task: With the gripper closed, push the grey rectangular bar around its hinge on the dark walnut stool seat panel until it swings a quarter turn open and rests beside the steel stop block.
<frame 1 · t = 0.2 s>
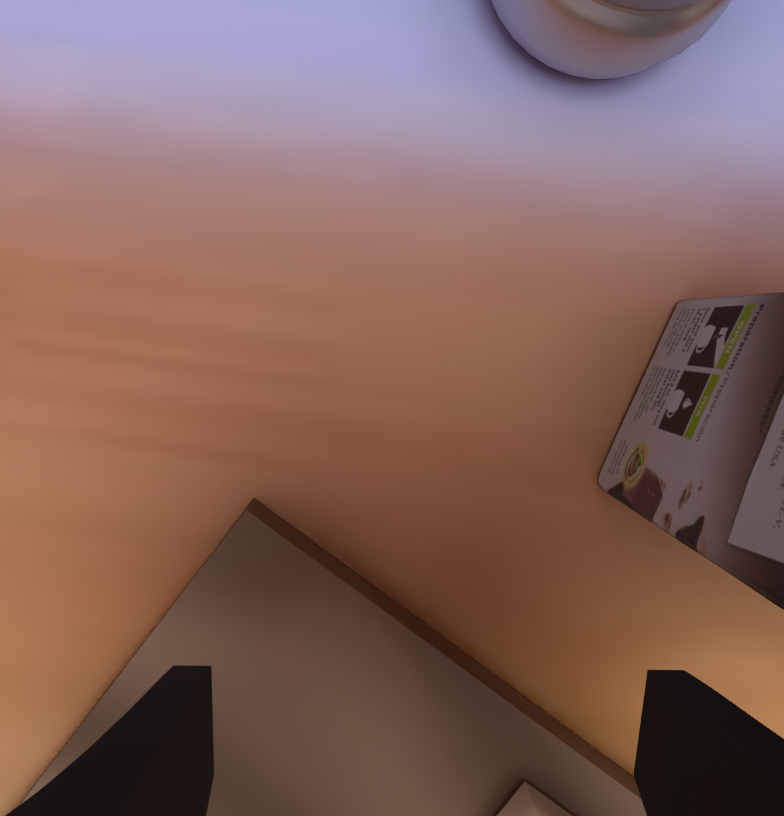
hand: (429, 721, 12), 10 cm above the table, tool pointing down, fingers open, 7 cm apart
coffee box: (762, 450, 23), on the table
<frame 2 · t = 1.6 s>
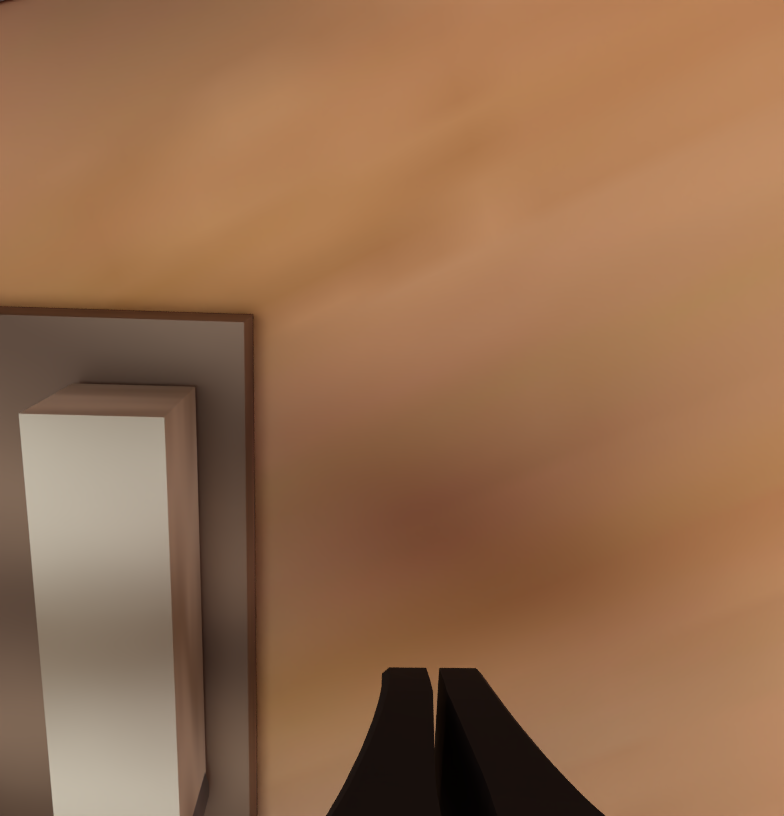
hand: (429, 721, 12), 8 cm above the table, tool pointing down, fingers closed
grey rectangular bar: (128, 658, 17), point 3 cm above the table, hinge at 0.0°
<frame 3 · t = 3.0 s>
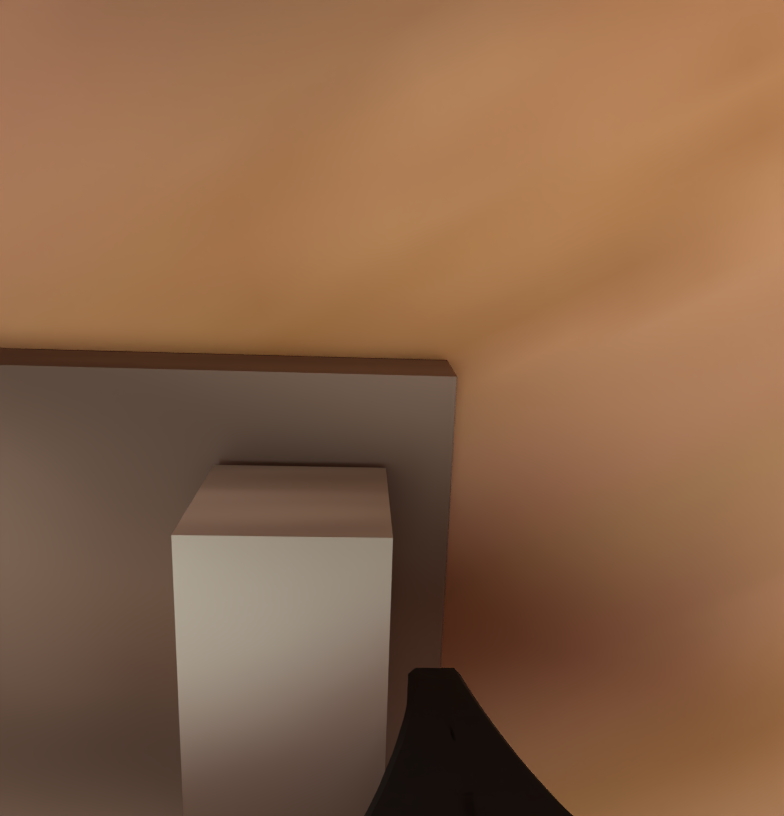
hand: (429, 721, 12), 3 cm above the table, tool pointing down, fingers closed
stool seat panel: (62, 735, 15), on the table
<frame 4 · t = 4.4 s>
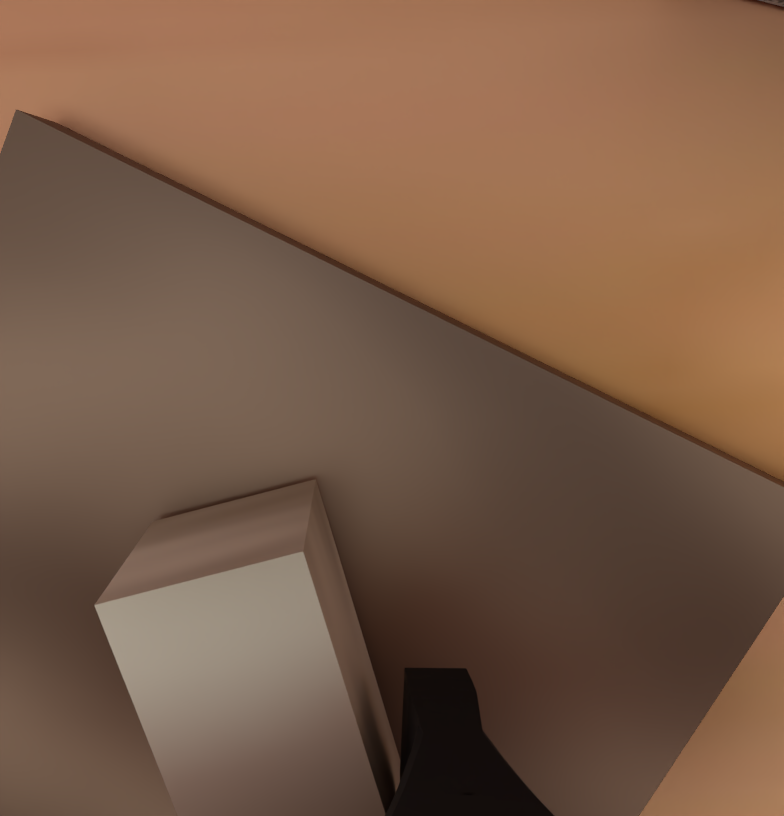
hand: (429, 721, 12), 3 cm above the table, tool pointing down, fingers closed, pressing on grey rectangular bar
stool seat panel: (272, 672, 15), on the table
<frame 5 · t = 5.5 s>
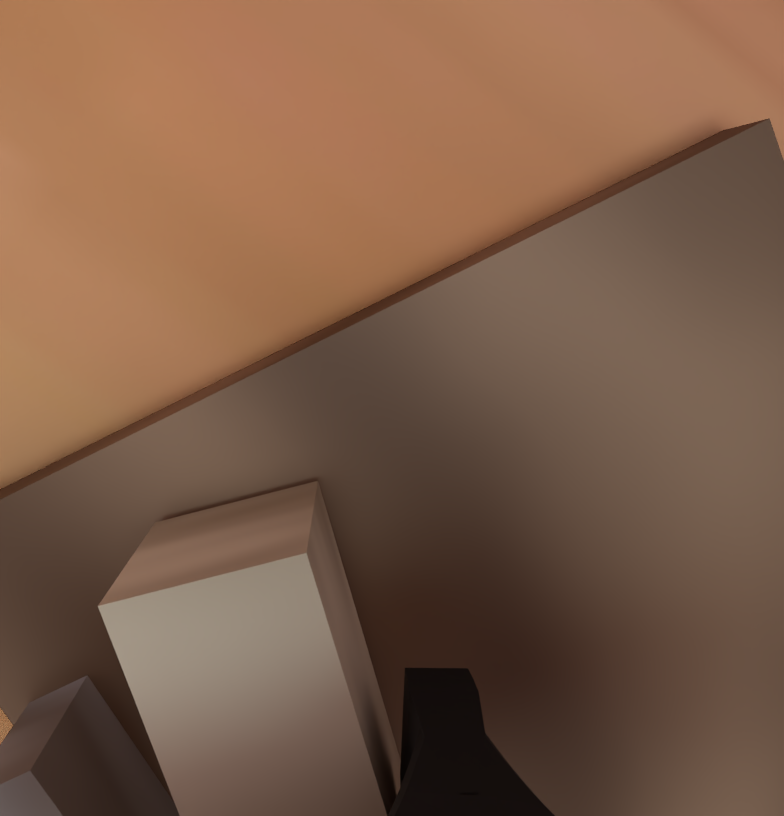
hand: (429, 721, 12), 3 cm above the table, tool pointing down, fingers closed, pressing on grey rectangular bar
stool seat panel: (484, 658, 15), on the table
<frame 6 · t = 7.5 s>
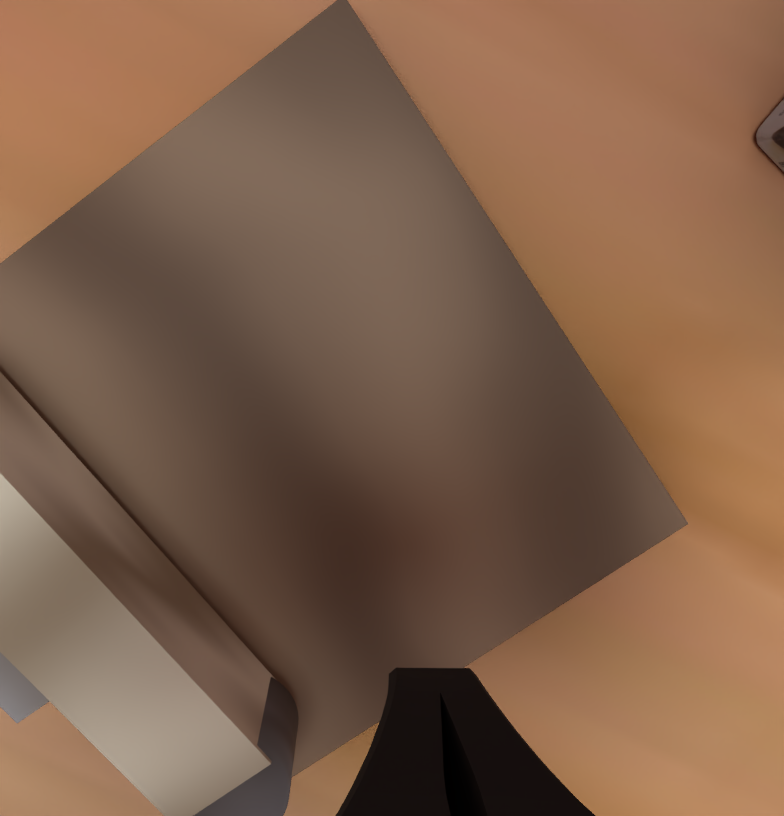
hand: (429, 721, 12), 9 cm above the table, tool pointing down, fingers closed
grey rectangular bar: (103, 616, 17), point 3 cm above the table, hinge at 90.8°
stool seat panel: (269, 455, 20), on the table
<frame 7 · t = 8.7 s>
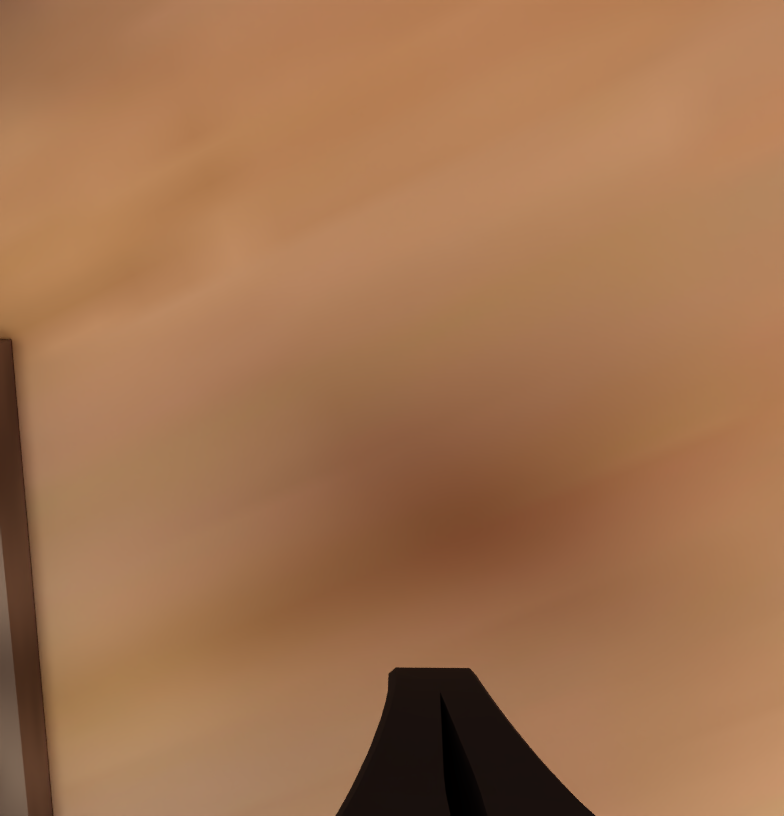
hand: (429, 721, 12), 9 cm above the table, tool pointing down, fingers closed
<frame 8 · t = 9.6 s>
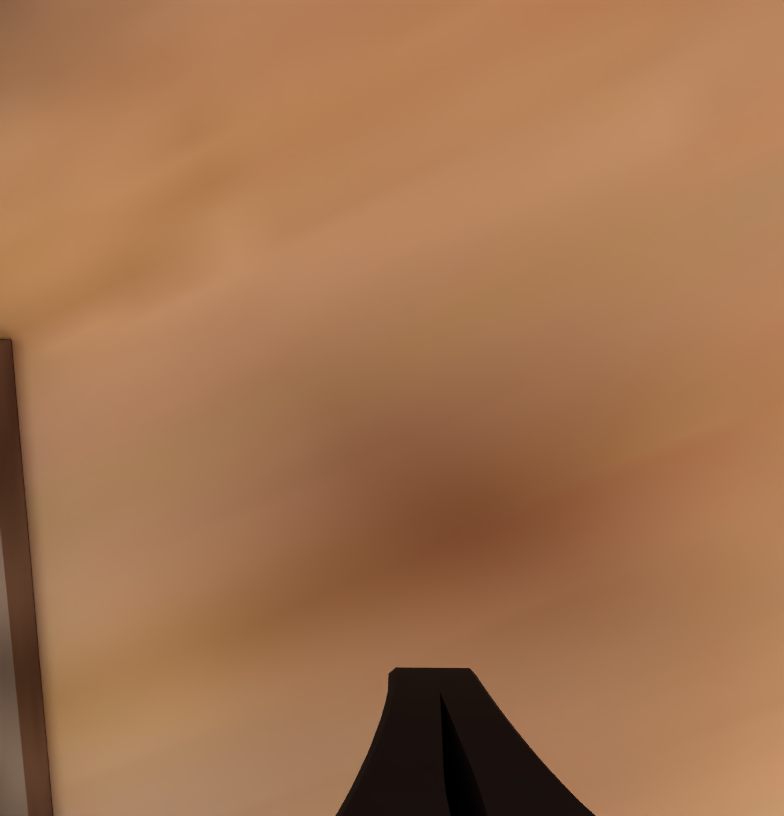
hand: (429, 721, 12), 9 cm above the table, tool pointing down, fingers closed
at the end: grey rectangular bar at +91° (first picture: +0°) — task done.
